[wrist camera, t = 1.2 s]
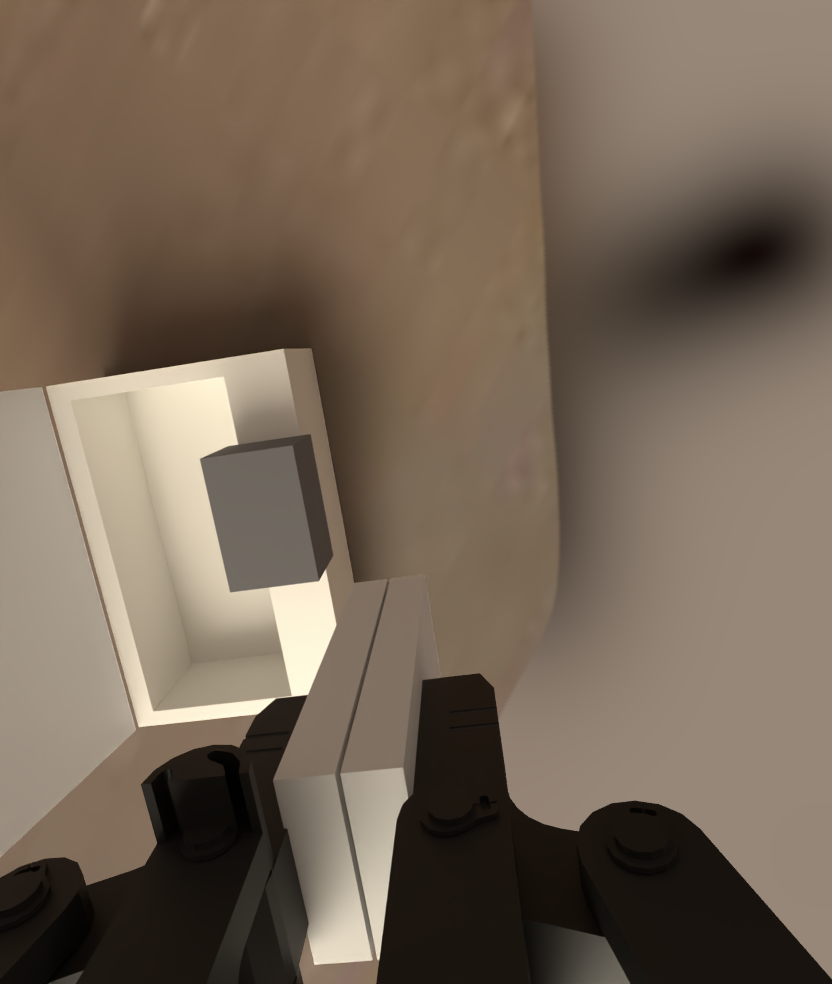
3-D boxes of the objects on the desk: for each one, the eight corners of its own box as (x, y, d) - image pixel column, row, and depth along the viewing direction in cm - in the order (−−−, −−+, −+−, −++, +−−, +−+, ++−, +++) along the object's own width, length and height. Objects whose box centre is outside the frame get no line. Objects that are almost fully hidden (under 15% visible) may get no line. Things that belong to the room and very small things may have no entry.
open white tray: (103, 381, 36) (35, 388, 30) (311, 348, 35) (283, 348, 29) (177, 671, 40) (129, 727, 34) (366, 649, 39) (351, 703, 33)
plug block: (227, 446, 30) (199, 459, 27) (310, 433, 30) (292, 445, 26) (253, 565, 31) (230, 592, 28) (333, 555, 31) (319, 581, 28)
